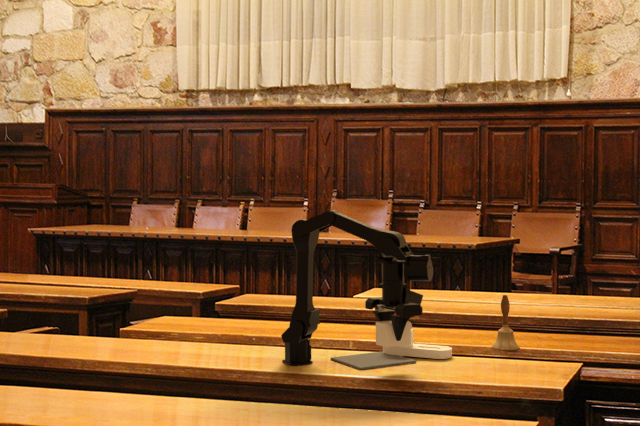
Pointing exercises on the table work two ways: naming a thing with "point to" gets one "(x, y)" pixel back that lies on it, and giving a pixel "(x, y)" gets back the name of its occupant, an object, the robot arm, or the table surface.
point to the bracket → (420, 350)
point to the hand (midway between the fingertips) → (393, 339)
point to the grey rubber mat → (372, 360)
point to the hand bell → (505, 330)
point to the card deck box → (391, 334)
